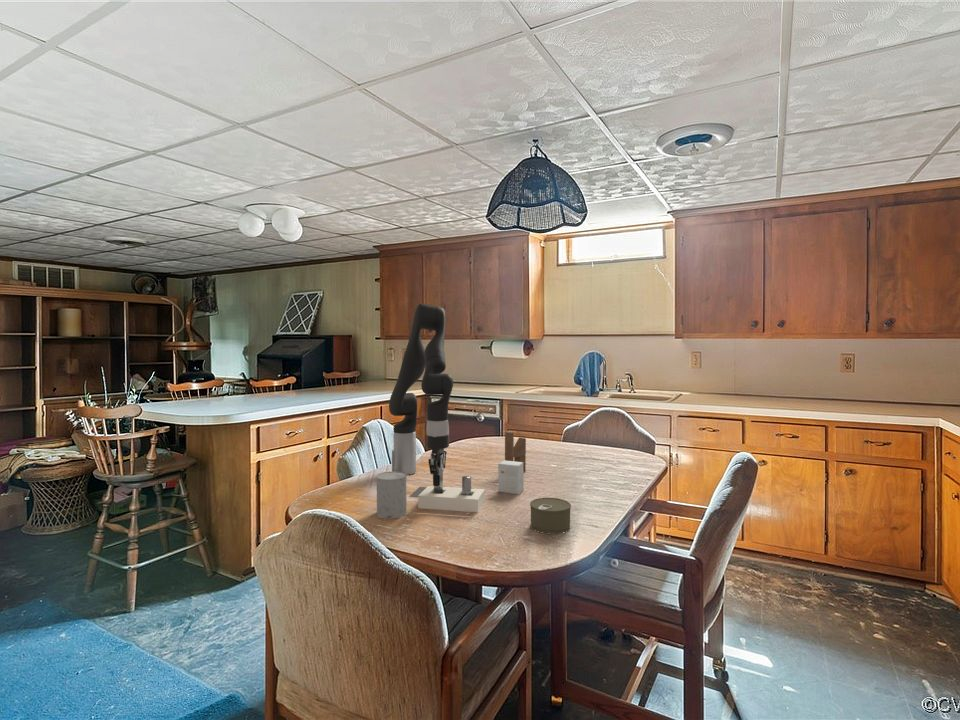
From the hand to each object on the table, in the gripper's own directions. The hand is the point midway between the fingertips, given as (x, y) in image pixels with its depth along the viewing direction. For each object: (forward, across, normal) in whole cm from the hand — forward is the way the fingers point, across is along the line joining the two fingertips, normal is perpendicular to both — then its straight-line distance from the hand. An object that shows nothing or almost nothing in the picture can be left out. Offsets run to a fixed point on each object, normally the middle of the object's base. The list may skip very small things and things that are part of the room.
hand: (438, 484), depth 166 cm
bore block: (+7, 0, +5) cm, 9 cm away
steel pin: (+3, 0, 0) cm, 3 cm away
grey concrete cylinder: (+7, +11, -12) cm, 18 cm away
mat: (+7, -11, -5) cm, 14 cm away
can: (+8, +12, +38) cm, 41 cm away
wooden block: (+7, -44, +20) cm, 49 cm away
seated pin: (+7, 0, +10) cm, 12 cm away
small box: (+7, -20, +22) cm, 31 cm away
